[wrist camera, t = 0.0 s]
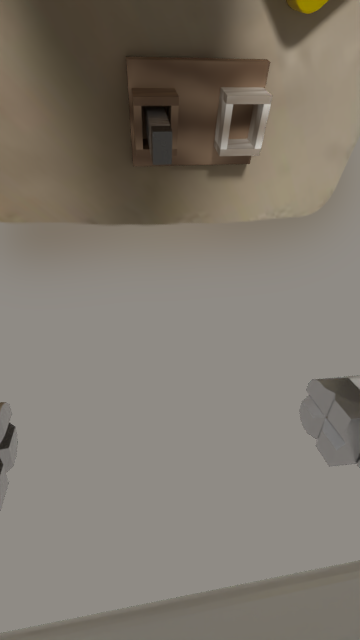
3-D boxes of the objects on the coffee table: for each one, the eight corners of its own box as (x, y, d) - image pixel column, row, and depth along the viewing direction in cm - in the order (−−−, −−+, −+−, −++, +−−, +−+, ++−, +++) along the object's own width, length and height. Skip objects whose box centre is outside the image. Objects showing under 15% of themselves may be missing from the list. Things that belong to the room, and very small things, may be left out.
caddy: (125, 56, 44) (127, 66, 40) (266, 59, 46) (280, 69, 43) (132, 162, 54) (134, 177, 51) (247, 159, 57) (256, 174, 53)
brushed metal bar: (144, 103, 47) (152, 131, 40) (162, 103, 47) (172, 131, 40) (145, 133, 50) (153, 164, 43) (162, 133, 50) (171, 164, 43)
